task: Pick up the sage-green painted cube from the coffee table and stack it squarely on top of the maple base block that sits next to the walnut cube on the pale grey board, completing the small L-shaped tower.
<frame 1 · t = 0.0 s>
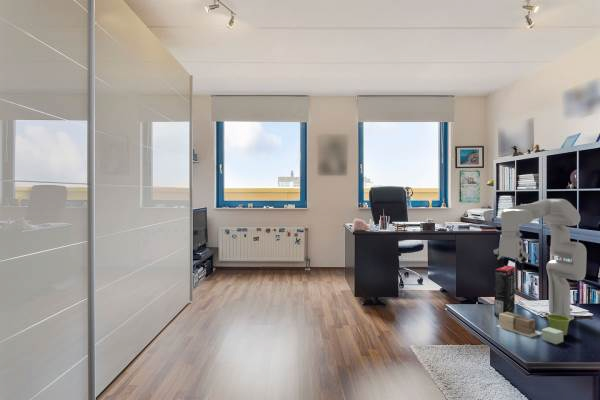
hand: (510, 268, 174), 31 cm above the table, tool pointing down, fingers open, 9 cm apart
walnut cube: (525, 331, 170), point 1 cm above the table, touching board
board: (519, 331, 173), on the table
graphics card box: (505, 315, 197), on the table
sage block: (552, 343, 159), on the table
maple base: (509, 326, 177), point 1 cm above the table, touching board
plant pot: (558, 335, 168), on the table
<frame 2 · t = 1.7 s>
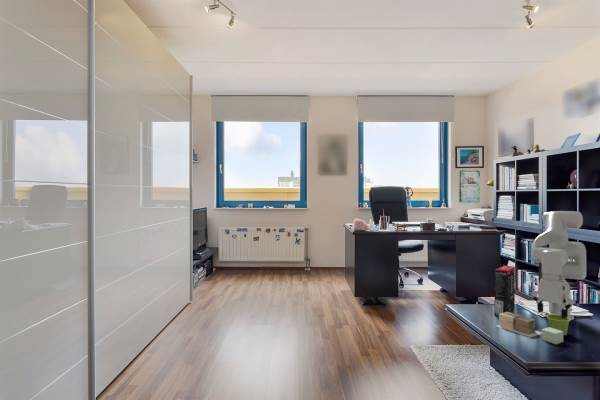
hand: (552, 314, 159), 13 cm above the table, tool pointing down, fingers open, 9 cm apart
nothing on the table moved.
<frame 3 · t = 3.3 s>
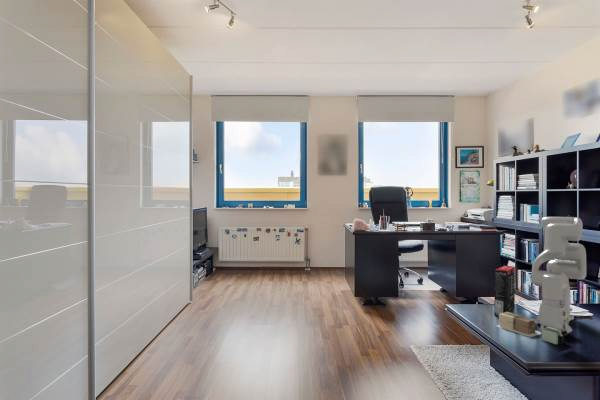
hand: (552, 341, 159), 1 cm above the table, tool pointing down, fingers closed on sage block, 6 cm apart
sage block: (552, 343, 159), on the table, touching gripper
everything else where it was.
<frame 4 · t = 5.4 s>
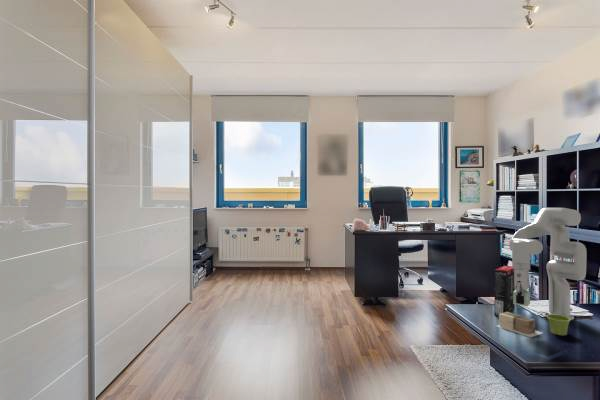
hand: (521, 301, 172), 15 cm above the table, tool pointing down, fingers closed on sage block, 6 cm apart
sage block: (521, 303, 172), point 14 cm above the table, touching gripper
everything else where it was.
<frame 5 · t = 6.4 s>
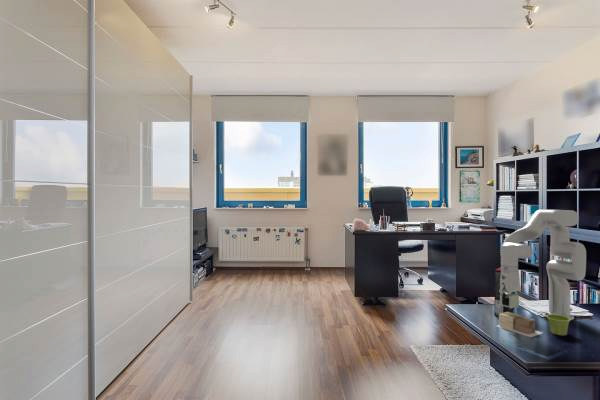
hand: (509, 303, 177), 13 cm above the table, tool pointing down, fingers closed on sage block, 6 cm apart
sage block: (509, 305, 177), point 12 cm above the table, touching gripper
everything else where it was.
when the fingers open (9 cm above the table, at t = 7.4 s): sage block stays where it is, resting on maple base.
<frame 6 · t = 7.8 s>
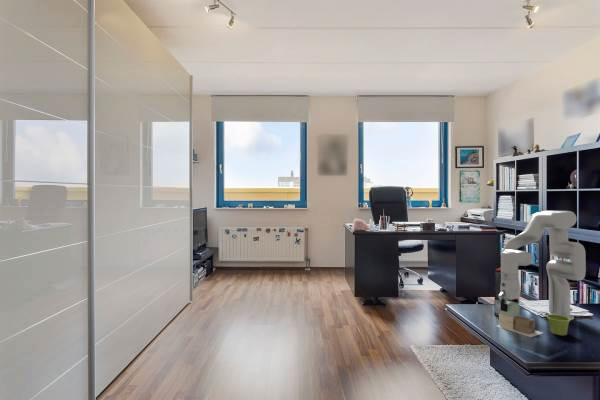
hand: (509, 309, 177), 10 cm above the table, tool pointing down, fingers open, 9 cm apart
sage block: (509, 314, 177), point 7 cm above the table, touching maple base
maple base: (509, 326, 177), point 1 cm above the table, touching board, sage block
everything else where it was.
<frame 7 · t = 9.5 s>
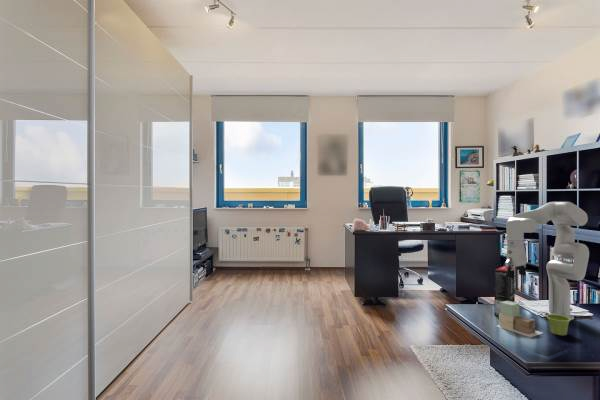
hand: (516, 276, 180), 26 cm above the table, tool pointing down, fingers open, 9 cm apart
nothing on the table moved.
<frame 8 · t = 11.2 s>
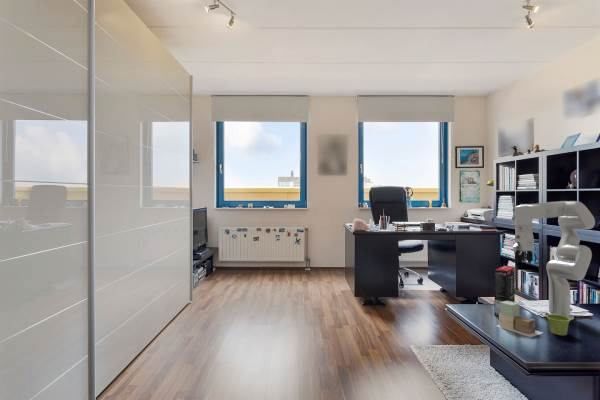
hand: (524, 261, 182), 33 cm above the table, tool pointing down, fingers open, 9 cm apart
nothing on the table moved.
at the end: sage block 0.1 cm off-centre on the maple base, point 6.0 cm above the maple base's base; sage block tilted 0°; the gripper is holding nothing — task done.
